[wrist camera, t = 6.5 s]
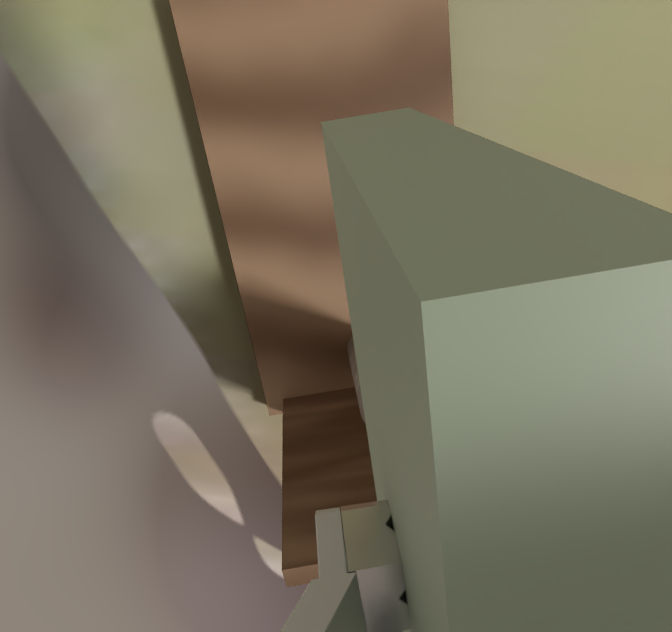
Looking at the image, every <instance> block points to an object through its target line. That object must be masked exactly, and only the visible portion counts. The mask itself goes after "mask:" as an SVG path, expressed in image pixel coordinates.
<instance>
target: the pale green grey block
mask: <svg viewBox="0 0 672 632" xmlns="http://www.w3.org/2000/svg"><path fill="white" fill-rule="evenodd" d="M321 126H322V133H323V140H324V147H325V153H326V160H327V167H328V174H329V180H330V187H331V194H332V200H333V207H334V214H335V221H336V227H337V234H338V241H339V248H340V254H341V261H342V268H343V274H344V281H345V288H346V295H347V301H348V308H349V315H350V321H351V328H352V335H353V342H354V348H355V355H356V362H357V369H358V375H359V382H360V389H361V395H362V402H363V409H364V416H365V422H366V429H367V436H368V443H369V449H370V456H371V463H372V469H373V476H374V483H375V490H376V496H377V501H381V500H388V503H389V507H390V511H391V516H392V523H393V531H394V532H396V537H397V541H398V545H399V550H400V554H401V558H402V563H403V570H404V578H405V586H406V589H405V594H406V598H407V603H408V609H409V616H410V624H411V629H408V630H404V631H399V632H672V213H669V212H667V211H664V210H662V209H659V208H657V207H654V206H652V205H649V204H647V203H644V202H642V201H640V200H637V199H635V198H632V197H630V196H627V195H625V194H622V193H620V192H617V191H615V190H612V189H610V188H607V187H605V186H602V185H600V184H597V183H595V182H592V181H590V180H587V179H585V178H582V177H580V176H578V175H575V174H573V173H570V172H568V171H565V170H563V169H560V168H558V167H555V166H553V165H550V164H548V163H545V162H543V161H540V160H538V159H535V158H533V157H530V156H528V155H525V154H523V153H520V152H518V151H516V150H513V149H511V148H508V147H506V146H503V145H501V144H498V143H496V142H493V141H491V140H488V139H486V138H483V137H481V136H478V135H476V134H473V133H471V132H468V131H466V130H463V129H461V128H459V127H456V126H454V125H451V124H449V123H446V122H444V121H441V120H439V119H436V118H434V117H431V116H429V115H426V114H424V113H421V112H419V111H416V110H414V109H411V108H404V109H398V110H392V111H385V112H379V113H373V114H367V115H361V116H355V117H349V118H342V119H336V120H330V121H324V122H321Z"/></svg>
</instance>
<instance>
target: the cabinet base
mask: <svg viewBox="0 0 672 632" xmlns="http://www.w3.org/2000/svg"><path fill="white" fill-rule="evenodd" d="M169 3H170V7H171V11H172V15H173V19H174V23H175V27H176V32H177V36H178V40H179V44H180V48H181V52H182V56H183V60H184V65H185V69H186V73H187V77H188V81H189V85H190V89H191V93H192V98H193V102H194V106H195V110H196V114H197V118H198V122H199V127H200V131H201V135H202V139H203V143H204V147H205V151H206V155H207V160H208V164H209V168H210V172H211V176H212V180H213V184H214V188H215V193H216V197H217V201H218V205H219V209H220V213H221V217H222V222H223V226H224V230H225V234H226V238H227V242H228V246H229V250H230V255H231V259H232V263H233V267H234V271H235V275H236V279H237V283H238V288H239V292H240V296H241V300H242V304H243V308H244V312H245V316H246V321H247V325H248V329H249V333H250V337H251V341H252V345H253V350H254V354H255V358H256V362H257V366H258V370H259V374H260V378H261V383H262V387H263V391H264V395H265V399H266V403H267V407H268V411H269V416H270V415H276V414H282V413H283V468H282V491H283V492H282V572H283V576H284V580H285V583H286V586H287V587H290V586H296V585H302V584H308V583H310V582H311V580H313V579H318V578H319V571H318V556H317V540H316V525H315V514H316V510H323V509H331V508H338V507H340V506H347V505H354V504H361V503H368V502H374V501H377V496H376V490H375V483H374V476H373V469H372V463H371V456H370V449H369V443H368V436H367V429H366V422H365V416H364V409H363V402H362V395H361V389H360V382H359V375H358V369H357V362H356V355H355V348H354V342H353V335H352V328H351V321H350V315H349V308H348V301H347V295H346V288H345V281H344V274H343V268H342V261H341V254H340V248H339V241H338V234H337V227H336V221H335V214H334V207H333V200H332V194H331V187H330V180H329V174H328V167H327V160H326V153H325V147H324V140H323V133H322V126H321V122H324V121H330V120H336V119H342V118H349V117H355V116H361V115H367V114H373V113H379V112H385V111H392V110H398V109H404V108H411V109H414V110H416V111H419V112H421V113H424V114H426V115H429V116H431V117H434V118H436V119H439V120H441V121H444V122H446V123H449V124H451V125H454V120H453V99H452V77H451V56H450V35H449V14H448V0H169ZM340 509H341V507H340Z"/></svg>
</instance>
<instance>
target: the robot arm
mask: <svg viewBox="0 0 672 632" xmlns="http://www.w3.org/2000/svg"><path fill="white" fill-rule="evenodd" d="M340 507H341V509H340ZM340 507H338V508H331V509H323V510H316V514H315V525H316V540H317V556H318V571H319V578H318V579H313V580H311V582H310V583H309V585H308V587H307V588H306V590H305V592H304V593H303V595H302V597H301V598H300V600H299V602H298V604H297V605H296V607H295V608H294V610H293V612H292V613H291V615H290V617H289V619H288V620H287V622H286V623H285V625H284V627H283V628H282V630H281V632H399V631H404V630H408V629H411V624H410V616H409V609H408V603H407V598H406V594H405V589H406V586H405V578H404V570H403V563H402V558H401V554H400V550H399V545H398V541H397V537H396V532H394V531H393V523H392V516H391V511H390V507H389V503H388V500H381V501H374V502H368V503H361V504H354V505H347V506H340Z"/></svg>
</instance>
